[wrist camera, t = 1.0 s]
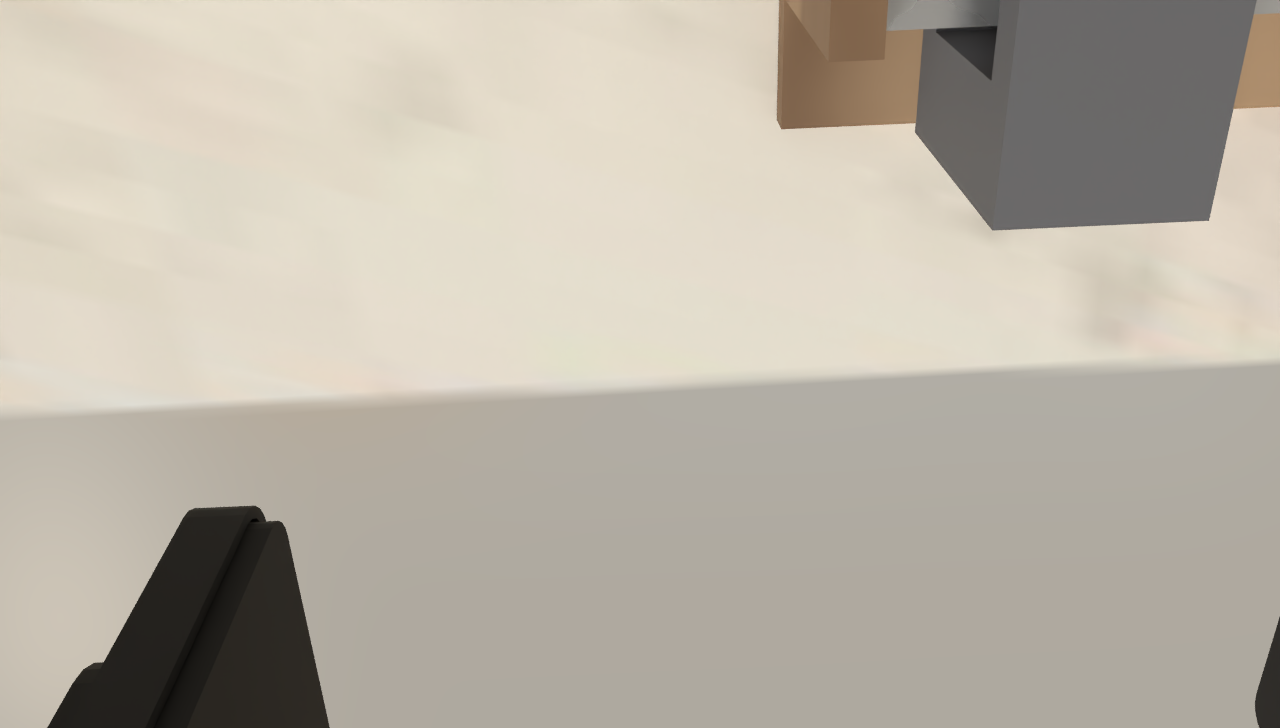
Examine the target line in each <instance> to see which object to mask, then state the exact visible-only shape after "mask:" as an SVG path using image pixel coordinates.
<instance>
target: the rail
mask: <svg viewBox="0 0 1280 728" xmlns="http://www.w3.org/2000/svg"><path fill="white" fill-rule="evenodd" d="M999 8H1000V0H888V13H887V28H886V31H894V30H916V29H938V28H961V27H983V26H998V17H999ZM1273 13H1280V0H1257V2H1256V6H1255V11H1254V14H1273Z"/></svg>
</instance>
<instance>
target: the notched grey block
mask: <svg viewBox="0 0 1280 728" xmlns="http://www.w3.org/2000/svg"><path fill="white" fill-rule="evenodd" d="M1256 2H1257V0H1000V8H999V17H998V26H983V27H961V28H938V29H923V40H922V53H921V65H920V78H919V90H918V102H917V115H916V127H915V133H916V134H917V135H918V137H919V138H920V139H921V140H922V142H923V143H924V144H925V146H926V147H927V148H928V149H929V151H930V152H931V153H932V154H933V156H934V157H935V158H936V159H937V161H938V162H939V163H940V165H941V166H942V167H943V168H944V170H945V171H946V172H947V173H948V175H949V176H950V177H951V178H952V180H953V181H954V182H955V184H956V185H957V186H958V187H959V189H960V190H961V191H962V192H963V194H964V195H965V196H966V197H967V199H968V200H969V201H970V203H971V204H972V205H973V206H974V208H975V209H976V210H977V211H978V213H979V214H980V215H981V216H982V218H983V219H984V220H985V222H986V223H987V224H988V225H989V227H990V228H991V229H992V230H1012V229H1034V228H1056V227H1078V226H1100V225H1122V224H1144V223H1166V222H1188V221H1209V218H1210V213H1211V209H1212V204H1213V200H1214V195H1215V190H1216V186H1217V181H1218V177H1219V172H1220V167H1221V163H1222V158H1223V154H1224V149H1225V144H1226V140H1227V135H1228V131H1229V126H1230V121H1231V117H1232V112H1233V108H1234V103H1235V98H1236V94H1237V89H1238V85H1239V80H1240V75H1241V71H1242V66H1243V62H1244V57H1245V52H1246V48H1247V43H1248V39H1249V34H1250V29H1251V25H1252V20H1253V16H1254V11H1255V6H1256Z"/></svg>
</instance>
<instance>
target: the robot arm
mask: <svg viewBox="0 0 1280 728" xmlns="http://www.w3.org/2000/svg"><path fill="white" fill-rule="evenodd" d="M1255 711H1256V717H1257V722H1258V725H1259V727H1260V728H1280V618H1279V621H1278V625H1277V628H1276V631H1275V634H1274V638H1273V642H1272V644H1271V648H1270V651H1269V654H1268V658H1267V661H1266V664H1265V667H1264V671H1263V674H1262V677H1261V681H1260V684H1259V687H1258V690H1257V694H1256V700H1255ZM47 728H330V727H329V723H328V718H327V714H326V709H325V704H324V700H323V695H322V691H321V686H320V682H319V677H318V672H317V668H316V663H315V659H314V654H313V650H312V645H311V641H310V636H309V631H308V627H307V622H306V617H305V613H304V608H303V604H302V599H301V595H300V590H299V585H298V581H297V576H296V572H295V568H294V563H293V558H292V553H291V549H290V545H289V540H288V535H287V532H286V529H285V527H284V525H283V523H282V522H280V521H268V522H266V520H265V517H264V514H263V513H262V511H261V509H260V508H258V507H256V506H239V507H216V508H194V509H192V510H189V511H188V513H187V514H186V515H185V516H184V518H183V519H182V521H181V523H180V525H179V527H178V529H177V530H176V532H175V534H174V536H173V538H172V539H171V541H170V543H169V545H168V547H167V549H166V550H165V552H164V554H163V556H162V558H161V559H160V561H159V563H158V565H157V567H156V568H155V570H154V572H153V574H152V576H151V578H150V579H149V581H148V583H147V585H146V587H145V589H144V591H143V592H142V594H141V596H140V598H139V599H138V601H137V603H136V605H135V607H134V608H133V610H132V612H131V614H130V616H129V618H128V619H127V621H126V623H125V625H124V627H123V629H122V630H121V632H120V634H119V636H118V638H117V639H116V641H115V643H114V645H113V647H112V648H111V650H110V652H109V654H108V656H107V657H106V659H105V661H104V662H103V663H93V664H92V665H90V666H88V667H87V668H85V669H83V671H82V672H81V673H80V675H79V676H78V677H77V678H76V680H75V681H74V683H73V684H72V685H71V687H70V689H69V691H68V692H67V694H66V696H65V698H64V700H63V701H62V703H61V705H60V706H59V708H58V710H57V712H56V714H55V715H54V717H53V719H52V721H51V722H50V724H49V726H48V727H47Z"/></svg>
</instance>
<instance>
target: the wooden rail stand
mask: <svg viewBox="0 0 1280 728" xmlns="http://www.w3.org/2000/svg"><path fill="white" fill-rule="evenodd" d="M887 13H888V0H779V40H778V90H777V121H778V123H779V125H780V127H781V129H795V128H817V127H839V126H861V125H884V124H906V123H916V115H917V102H918V90H919V78H920V65H921V53H922V40H923V29H916V30H894V31H886V28H887ZM1261 107H1280V13H1273V14H1254V16H1253V20H1252V25H1251V29H1250V34H1249V39H1248V43H1247V48H1246V52H1245V57H1244V62H1243V66H1242V71H1241V75H1240V80H1239V85H1238V89H1237V94H1236V98H1235V103H1234V108H1233V109H1238V108H1261Z"/></svg>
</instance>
